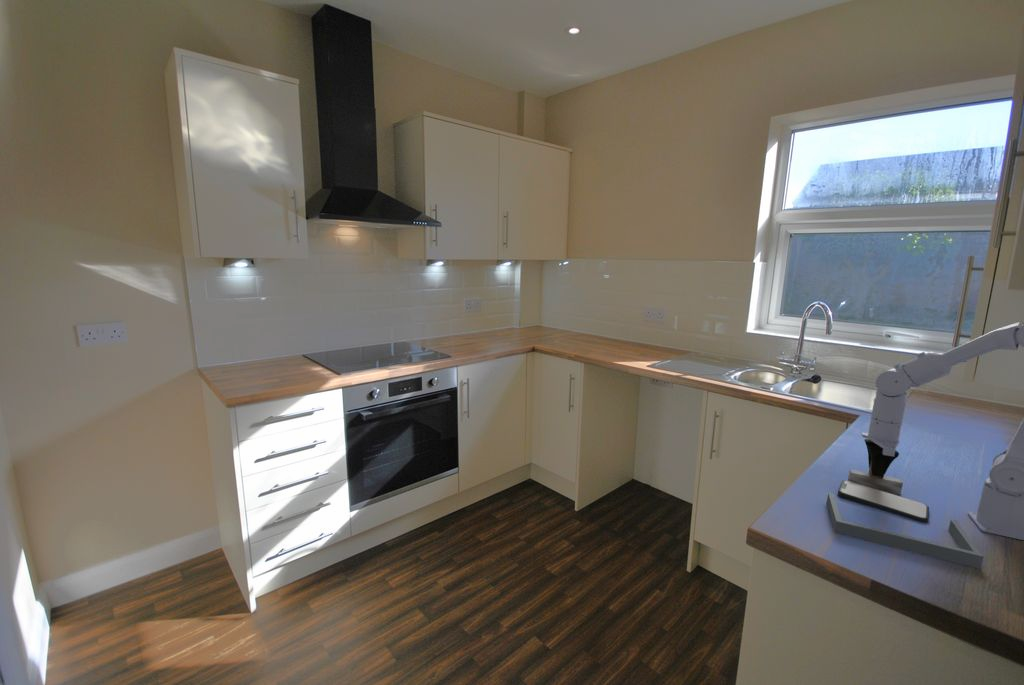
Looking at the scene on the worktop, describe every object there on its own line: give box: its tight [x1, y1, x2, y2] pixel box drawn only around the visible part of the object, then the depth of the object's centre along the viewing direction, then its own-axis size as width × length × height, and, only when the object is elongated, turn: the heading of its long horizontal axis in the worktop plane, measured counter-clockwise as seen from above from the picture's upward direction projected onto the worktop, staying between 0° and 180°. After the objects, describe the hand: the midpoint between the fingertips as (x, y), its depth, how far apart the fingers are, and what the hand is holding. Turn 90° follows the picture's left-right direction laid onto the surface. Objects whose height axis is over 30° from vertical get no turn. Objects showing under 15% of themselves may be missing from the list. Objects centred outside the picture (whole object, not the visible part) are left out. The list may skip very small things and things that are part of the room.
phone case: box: [837, 480, 930, 524], centre depth 107 cm, size 9×2×16 cm
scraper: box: [847, 463, 904, 495], centre depth 112 cm, size 10×2×9 cm, turn 62°
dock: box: [826, 492, 984, 570], centre depth 95 cm, size 22×13×2 cm, turn 62°
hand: (876, 473), depth 113 cm, fingers closed on scraper, 2 cm apart
